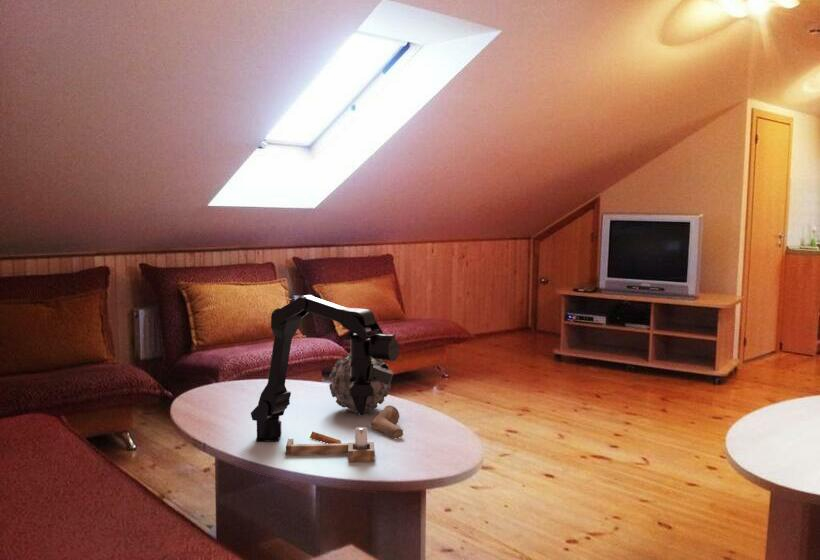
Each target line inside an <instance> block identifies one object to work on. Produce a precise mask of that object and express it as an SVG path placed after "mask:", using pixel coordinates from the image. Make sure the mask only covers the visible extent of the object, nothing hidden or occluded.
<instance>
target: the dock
mask: <svg viewBox="0 0 820 560" xmlns="http://www.w3.org/2000/svg"><path fill="white" fill-rule="evenodd" d="M286 441H287V442H286V445H285V456H305V455H304V454H323V455H347V457H348V459H347V461H348V463H369V462H370V463H373V462H376V461H375V457H376V456H375V455H376V454H375V453H376V451H375V450H376V448H375V442H374V441H373V442H371V441H367V449H359V450H355V442H346V443H345V442H344V443H342V442H341V443H339V444H326V443H303V444H302V443H301V444H300V443H299V444H296V443H295V444H294V438H287V440H286Z"/></svg>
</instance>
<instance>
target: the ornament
mask: <svg viewBox="0 0 820 560" xmlns="http://www.w3.org/2000/svg"><path fill="white" fill-rule="evenodd" d="M372 360H373V365H376V366H377V365H378V366H380V365H381V364H382V363H385V362H384V360H381V359H374V358H372ZM350 373H351V351H350V352H349V353H348V354H345V355H344V356H342V359H340V358H339V359H337V360H336V361H335V364H334V366H333V367H332V369H331V372H330V374H329V377H328V380H329V381H331V383H329V384H328V385H329V391H330V394H331V396H332V398H335V399H336V400H335V403H336V404H337V405H338V406H340V407H342V408H344V409H345V408H347V409H348V411H349V412H351V413H352V412H353V413H354V414H359V413H358V411H357V409H356V406H355V404H354V401H353V399H352V397H351V396H350V385H351V384H352V383H353V382H350ZM368 382H369V381H368ZM370 383H371V384H372V385H373V387H374V396H369V397H368V398H367V401H366V406H365V411H364V413H368V412H371V411H372V410H374V409H376V408H378V404H379V405H382V404H383V403H384V402H385V398H387V397H388V394H389V390H390V389H391V384H390V385H386V384H384V383H383V382H380V381H377V380H374V379H373V382H370Z"/></svg>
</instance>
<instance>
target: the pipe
mask: <svg viewBox="0 0 820 560" xmlns="http://www.w3.org/2000/svg"><path fill="white" fill-rule="evenodd" d="M400 417H401V416H400V412H399V410H398V408H396V407H395V406H393V405H390V404H389V405H386V406H384V408H382V410H381V411H379V413H378V414H377V415H376V416H375V418H373V420H372V421H371V422H370V427H371V428H373V429H374V430H376V431H379V432H380V433H382V434H384V435H386V436H388V437H390V438H392V439H394V438H397V439H400V438H402V437H403V436H404V430H403V429H402V428H400V427H399V426H397V424H398V422H399V420H400ZM394 424H395V425H394ZM399 437H400V438H399Z"/></svg>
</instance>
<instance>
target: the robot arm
mask: <svg viewBox="0 0 820 560" xmlns="http://www.w3.org/2000/svg"><path fill="white" fill-rule="evenodd" d="M309 313H311V314H315V315H317V316H319V317H323V318H326V319H329V320H331V321H334V322H337V323H339V324H340V325H341V327H343V328H344V329H346V330H347V331H348V332H347V333H346V334H345V335H344V336H343V340H344V341H345V340H346V341H347V340H348V341H350V347H349V348H350V350H349V351H350V352H351V373H350V382H353V383H352V384H351V385H350V396H351V397H352V399H353V401H354V404H355V406H356V409H357V411H358V413H357V414H358V415H359V416H360V417H362V416H363V417H364V414H365V412H364V411H365V406H366V401H367V398H368V397H369V396H374V387H373V385H372V384H371V383H370V382H373V379H374V380H377V381H380V382H383V383H384V384H386V385H390V386H391V383H392V382H391V381H392V378H393V376H394V372H393V370H392V369H389V364H388V363H385V362H384V363H382V364H381V365H380V366H378V365H377V366H376V365H373V360H372V358H374V359H381V360H382V361H389V362H390V361H391V362H394V361H396V360H397V359H398V357H399V354H400V345H399V343H398V339H396V335H395V334H384V331H383V329H382V328H381V326H380V324H378V322H377V320H376V317H375V315H374V312H373V311H372V310H370V309H368V308H367V309H366V308H357V307H356V308H355V307H346V306H342V305H339V304H337V303H334V302H331V301H327V300H325V299H322V298H319V297H315V296H314V295H313V294H306V295H300V296H299V297H297V298H296V299H295V300H294V301H291V302H290V303H288V304H285V305H284V306H281V307H280V308H276V309H274V310H273V311H272V312H271V314H270V329H271V331H272V334H273V336H274V339H273V344H272V345H273V346H272V351H271V359H270V364H269V372H268V377H267V383H266V385H265V387H264V389H263V390H262V391H261V392H260V396H259V399H258V402H257V403H258V404H257V405H256V406H255V408H254V409H253V410H252V411H251V412H250V416H251V419H252V421H255V422H256V438H255V442H278V441H279V440H280V438H281V437H282V433H283V432H282V421H281V420H280V417H281V416H284V414H285V410H286V409H287V408H288V406H289V405H290V404H291V402H290V399H291V395H292V392H291V391H289V390H287V387H286V378H287V372H288V365H289V360H290V359H289V358H290V353H291V346H292V340H293V337H294V336H295V334H296V333H297V332H298V330H299V327H300V324H301V321H302V319H303V318H304V317H305V316H307V315H308V314H309ZM368 381H369V382H368Z"/></svg>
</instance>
